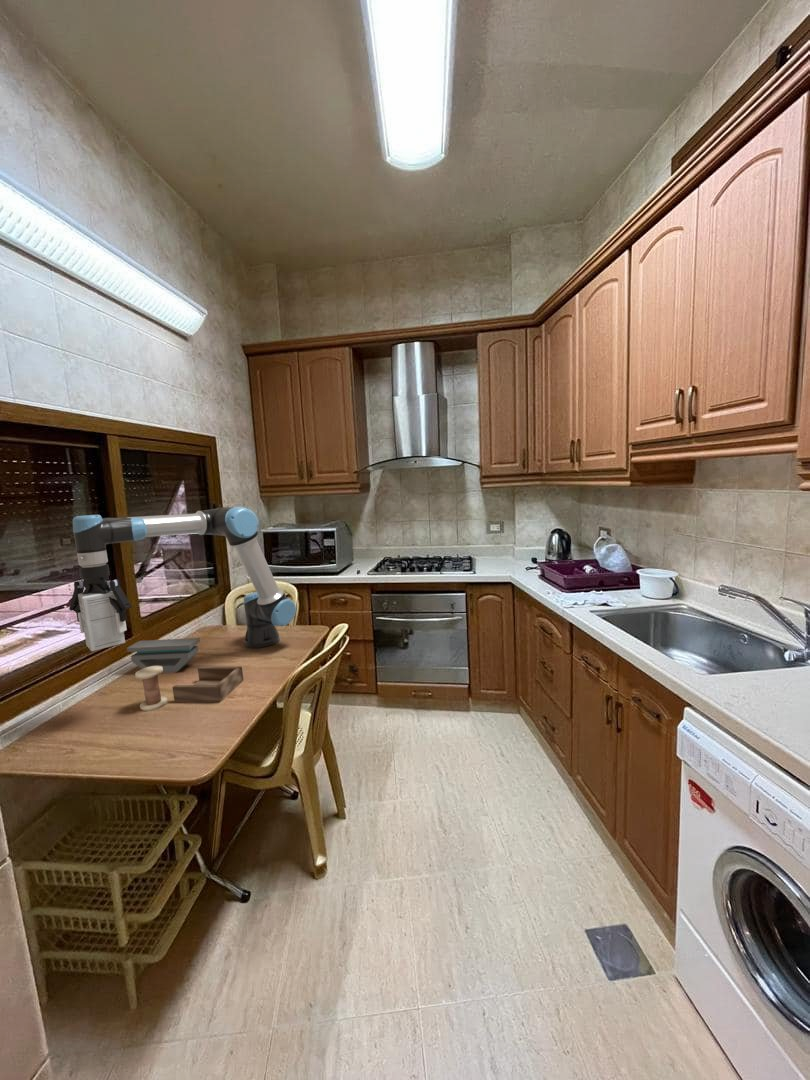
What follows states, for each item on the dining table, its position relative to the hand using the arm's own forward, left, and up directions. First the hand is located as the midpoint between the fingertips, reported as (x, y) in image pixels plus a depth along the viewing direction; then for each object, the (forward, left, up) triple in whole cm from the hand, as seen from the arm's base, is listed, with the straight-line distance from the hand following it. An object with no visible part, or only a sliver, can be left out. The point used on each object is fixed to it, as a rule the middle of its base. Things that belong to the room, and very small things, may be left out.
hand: (103, 631), depth 142 cm
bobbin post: (-5, +9, -28) cm, 30 cm away
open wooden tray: (-15, +23, -28) cm, 39 cm away
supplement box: (0, 0, -4) cm, 4 cm away
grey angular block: (-33, -6, -28) cm, 44 cm away
